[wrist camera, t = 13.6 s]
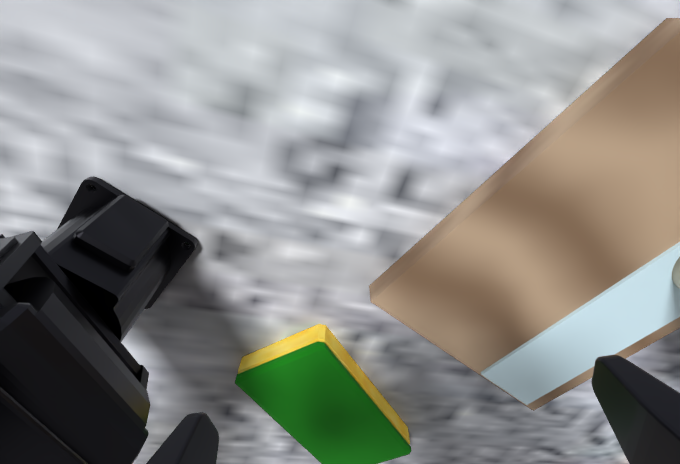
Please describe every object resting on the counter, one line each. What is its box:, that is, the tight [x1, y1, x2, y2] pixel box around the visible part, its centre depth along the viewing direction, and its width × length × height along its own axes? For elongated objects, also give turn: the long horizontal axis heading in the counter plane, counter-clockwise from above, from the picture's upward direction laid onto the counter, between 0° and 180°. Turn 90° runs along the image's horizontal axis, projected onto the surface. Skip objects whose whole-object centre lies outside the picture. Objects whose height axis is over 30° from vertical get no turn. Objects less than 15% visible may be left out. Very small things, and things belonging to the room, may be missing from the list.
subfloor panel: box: [369, 18, 680, 411], centre depth 22 cm, size 19×16×2 cm
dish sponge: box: [235, 324, 411, 464], centre depth 28 cm, size 7×14×2 cm, turn 30°
